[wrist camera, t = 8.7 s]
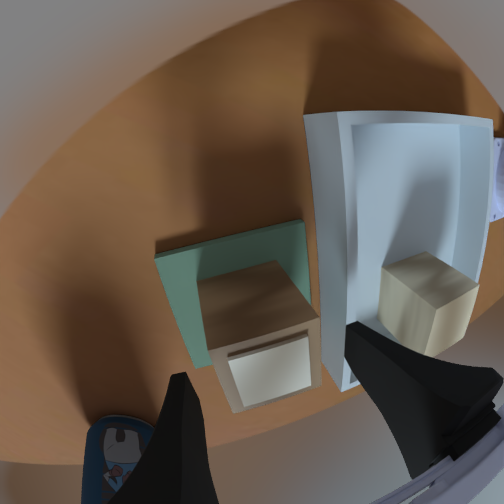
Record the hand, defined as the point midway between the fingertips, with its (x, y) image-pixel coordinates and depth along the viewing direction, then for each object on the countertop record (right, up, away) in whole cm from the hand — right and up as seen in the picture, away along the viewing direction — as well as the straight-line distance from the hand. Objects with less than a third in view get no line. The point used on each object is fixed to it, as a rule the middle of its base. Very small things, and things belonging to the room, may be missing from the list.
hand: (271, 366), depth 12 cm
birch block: (+10, +2, +7) cm, 13 cm away
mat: (-1, +2, +5) cm, 6 cm away
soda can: (-12, -11, +8) cm, 18 cm away
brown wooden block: (-1, +2, +5) cm, 5 cm away
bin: (+9, +6, +6) cm, 13 cm away
